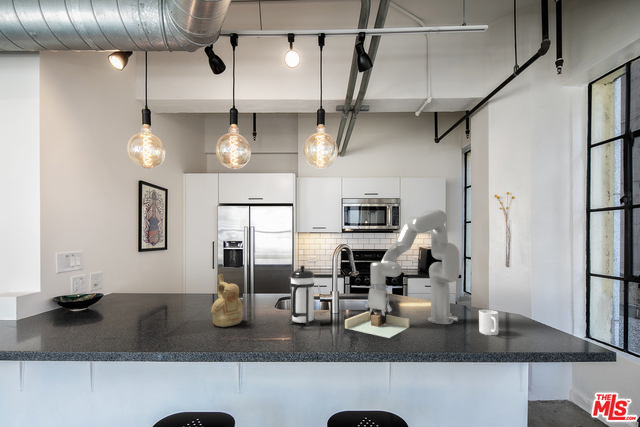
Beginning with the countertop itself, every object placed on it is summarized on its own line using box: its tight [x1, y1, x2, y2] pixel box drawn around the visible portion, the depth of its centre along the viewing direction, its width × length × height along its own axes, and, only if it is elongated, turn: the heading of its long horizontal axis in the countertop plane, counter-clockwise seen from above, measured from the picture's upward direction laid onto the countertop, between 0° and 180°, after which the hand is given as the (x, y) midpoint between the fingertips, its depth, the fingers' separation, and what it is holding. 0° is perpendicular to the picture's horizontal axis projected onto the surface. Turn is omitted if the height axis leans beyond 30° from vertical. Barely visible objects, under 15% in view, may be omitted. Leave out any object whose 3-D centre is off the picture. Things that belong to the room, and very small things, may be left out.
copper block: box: [371, 312, 386, 327], centre depth 174 cm, size 8×4×5 cm, turn 142°
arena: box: [344, 311, 410, 339], centre depth 169 cm, size 24×22×4 cm
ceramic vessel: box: [210, 273, 244, 328], centre depth 177 cm, size 17×20×25 cm
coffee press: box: [288, 265, 316, 327], centre depth 178 cm, size 17×16×30 cm
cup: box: [478, 309, 499, 336], centre depth 161 cm, size 8×12×10 cm
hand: (378, 321), depth 174 cm, fingers open, 5 cm apart
